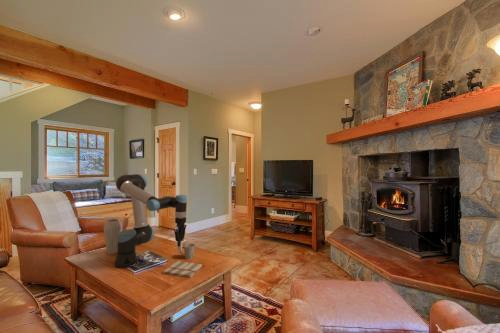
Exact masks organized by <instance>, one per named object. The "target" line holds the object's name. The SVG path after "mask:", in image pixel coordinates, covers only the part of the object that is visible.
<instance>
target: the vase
mask: <svg viewBox="0 0 500 333" xmlns="http://www.w3.org/2000/svg"><path fill="white" fill-rule="evenodd" d="M122 231H123V224H122V221H121V220H120V219H119V218H111V219H108V220H106V221H105V223H104V224H103V235H104V241H105V249H106V254H107V255H114V254H115V255H116V254H117V249H118V241H117V239H118V234H119V233H120V232H122Z"/></svg>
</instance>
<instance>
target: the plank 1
mask: <svg viewBox="0 0 500 333" xmlns="http://www.w3.org/2000/svg"><path fill="white" fill-rule="evenodd" d="M188 264H189V262H187V261H181V260H176V261H175V262H174V263H172V264H171V265H169V267H168V268H173V269H180V270H183V268H184V267H185V266H187V265H188Z"/></svg>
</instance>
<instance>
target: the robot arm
mask: <svg viewBox="0 0 500 333" xmlns="http://www.w3.org/2000/svg"><path fill="white" fill-rule="evenodd" d="M147 184H148V181H147V178H146V177H145V176H144V175H143V174H137V173H136V174H134V173H133V174H123V175H120V176H119V177H117V179H116V180H115V188H116V189H117V190H118V191H119V192H120V193H122V194H127V195H129V196H130V197H131V198H130V199H131V204H132V212H133V219H134V220H133V221H134V226H133V227H132V228H131V229H125V230H122V232H120V233H119V234H118V239H117V241H118V249H117V253H116V256H115V260H114V267H115V268H118V269H124V268H129V267H128V266H130V265H133V264H135V263H137V262H138V263H139V258H138V256H137V252H136V249H137V248H136V247H138V246H141V245H144V244H147V243H149V242H151V241H152V240H153V238H154V235H155V231H154V229H153V227H152V226H150V223H148V220H147V211H146V209H147V210H148V211H150V212H155V211H159V210H164V209H167V208H169V209H170V208H173V209H175V210H174V211H175V212H174V213H175V214H174V223H175V228H173V231H174V240H175V242H177V247H176V250H177V251H179V252H180V251H181V252H182V250H183V248H182V247H183V242H184V239H185V235H186V228H187V224H186V223H187V207H188V206H187V204H188V198H187V195H185V194H177V195H175V197H174V196H170V195H168V196H167V195H164V196H163V197H161V198H158V197H156V196H154V195H152V194H151V193H149V192H148V191H146V190H145V188H146V187H147ZM138 263H137V264H138ZM135 265H136V264H135Z"/></svg>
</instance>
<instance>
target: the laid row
mask: <svg viewBox="0 0 500 333" xmlns="http://www.w3.org/2000/svg"><path fill="white" fill-rule="evenodd" d="M162 273H163V275H169V276H176V277H181V278H182V277H183V278H189V279H191V278H192V277H193V276H194V275H195V274H196V273H195V272H193V271H187V270H180V269H173V268H169V267H167V268H166V269H164V270H163V272H162Z"/></svg>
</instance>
